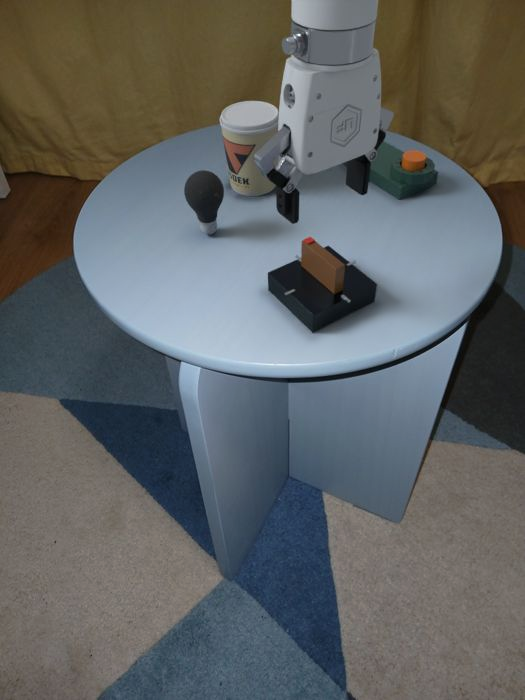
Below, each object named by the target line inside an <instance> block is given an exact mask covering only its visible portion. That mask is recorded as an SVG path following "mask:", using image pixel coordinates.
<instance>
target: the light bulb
mask: <svg viewBox="0 0 525 700" xmlns="http://www.w3.org/2000/svg"><path fill="white" fill-rule="evenodd" d="M183 191H184V198H185V201H186V203H187V204H188V206H189V207H190V208H191V209H192V210H193V212H194V213H195V215H196V218H197V220H198V221H199V227H200V231H201V232H202V233H203V234H206V235H207V236H212V235H213V234H215V232H217V229H218V223H217V222H218V221H217V218H218V211H219V209H220V207H221V205H222V203H223V200H224V196H225V188H224V184H223V182H222V179H220V177H219V176H218V175H216V174H215V172H213V171H209V170H203V169H202V170H196V171H195V172H193V173H191V174H190V175H189V177H188V178H187V179H186V181H185V183H184V188H183Z"/></svg>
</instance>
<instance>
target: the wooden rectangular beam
mask: <svg viewBox="0 0 525 700" xmlns="http://www.w3.org/2000/svg"><path fill="white" fill-rule="evenodd" d="M300 254H301V256H300V258H301V266H302V267H303V268H304V269H306V270H307V271H308V272H309V273H310V274H311V275H312V276H314V277H315V278H316V279H317V280H318V281H319V282H321V283H322V284H323V285H324V286H325V287H326V288H327V289H329V290H330V291H331V292H332V293H333V294H336V293H338V292H340V291H342V290H343V282H344V271H345V264H343V263H342V262H341V261H340V260H338V259H337V258H336V257H335V256H333V255H332V254H331V253H330V252H328V251H327V250H326V249H325V248H324V247H323V246H322V245H321V244H320V243H319V242H317V241H316V239H314V237H312V236H308V237H305V238H304V239H302V240H301V253H300Z"/></svg>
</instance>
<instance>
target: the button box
mask: <svg viewBox="0 0 525 700" xmlns="http://www.w3.org/2000/svg"><path fill="white" fill-rule="evenodd" d="M376 151H377V156H376V158H375V159H374V160H373V161H371V167H370V175H369V182H370V183H372V184H374V185H375V186H377V187H378V188H380V189H382V190H383V191H385V192H386V193H387V194H390V195H391V196H393V197H394V198H396V199H398V200H403V199H404V198H407V197H409V196H411V195H414V194H416V193H419V192H421V191H423V190H425V189H427V188H430V187H432V186H434V185H436V184H437V181H438V177H439V171H438V170H437V169H435V167H436V164H435V163H434V160H433V159H431V158H429V157H427V156H426V162H425V167H424V169H422V170H420V171H411V170H406V169H404V168H403V167H402V166H401V164H402V158H403V154H404V153H405V151H403V150H400V149H399V148H397V147H395V146H393V145H391V144H390V143H388V142H386V141H385V140H384V141H383V142H382V143H381V145H380V146H379V148H378V149H377V150H376ZM347 162H348V161H347ZM347 162H345V163H342V164H341V165H343V166H345V167H347Z"/></svg>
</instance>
